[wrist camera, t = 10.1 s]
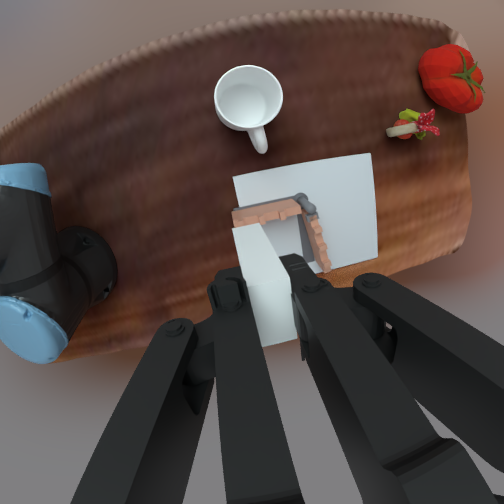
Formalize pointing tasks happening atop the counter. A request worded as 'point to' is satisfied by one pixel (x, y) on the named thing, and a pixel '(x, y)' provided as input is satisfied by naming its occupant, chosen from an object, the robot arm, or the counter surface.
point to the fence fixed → (271, 211)
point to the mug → (248, 101)
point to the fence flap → (316, 240)
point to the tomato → (451, 78)
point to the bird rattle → (413, 125)
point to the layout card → (319, 207)
